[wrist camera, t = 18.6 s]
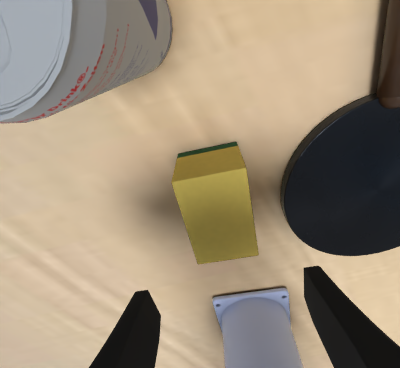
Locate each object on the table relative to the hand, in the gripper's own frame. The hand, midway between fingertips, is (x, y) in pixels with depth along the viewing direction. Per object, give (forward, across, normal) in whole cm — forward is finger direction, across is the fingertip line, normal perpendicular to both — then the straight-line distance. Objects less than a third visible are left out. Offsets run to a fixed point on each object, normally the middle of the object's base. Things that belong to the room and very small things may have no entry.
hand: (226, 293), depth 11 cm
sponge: (+9, 0, 0) cm, 9 cm away
